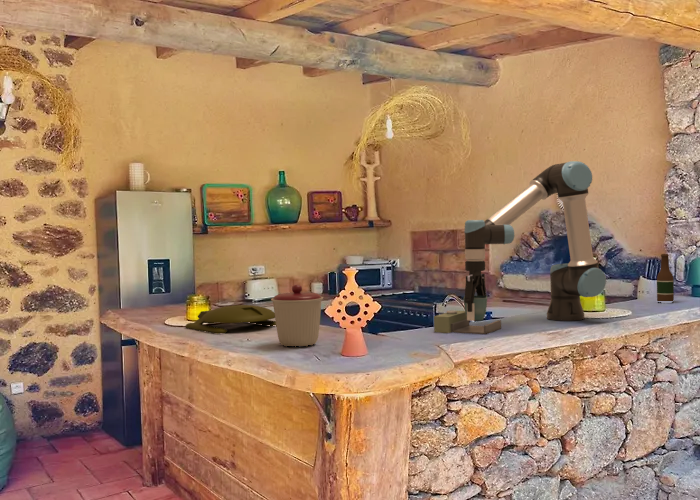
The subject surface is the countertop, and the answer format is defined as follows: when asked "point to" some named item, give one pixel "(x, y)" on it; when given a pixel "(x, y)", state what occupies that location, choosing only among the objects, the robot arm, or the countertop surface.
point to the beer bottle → (665, 281)
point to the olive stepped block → (448, 320)
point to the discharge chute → (474, 327)
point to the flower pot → (478, 307)
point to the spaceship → (232, 317)
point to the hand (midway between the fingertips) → (476, 318)
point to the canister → (297, 317)
